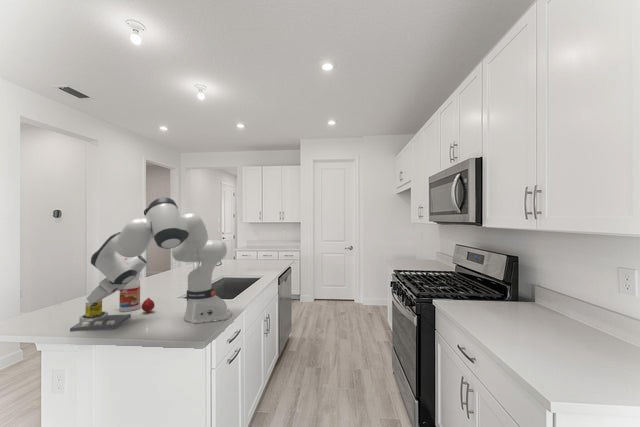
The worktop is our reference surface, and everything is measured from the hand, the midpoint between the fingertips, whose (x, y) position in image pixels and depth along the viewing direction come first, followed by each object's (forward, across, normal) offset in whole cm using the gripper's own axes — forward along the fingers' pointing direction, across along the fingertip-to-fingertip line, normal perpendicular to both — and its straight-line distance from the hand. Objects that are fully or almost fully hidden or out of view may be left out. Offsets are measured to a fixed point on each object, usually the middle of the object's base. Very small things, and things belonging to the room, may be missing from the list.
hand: (92, 303), depth 136 cm
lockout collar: (+5, 0, +6) cm, 8 cm away
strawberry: (-7, -12, +21) cm, 25 cm away
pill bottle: (+5, 0, +5) cm, 7 cm away
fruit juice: (+2, -20, +12) cm, 24 cm away
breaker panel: (+4, +1, +10) cm, 11 cm away
